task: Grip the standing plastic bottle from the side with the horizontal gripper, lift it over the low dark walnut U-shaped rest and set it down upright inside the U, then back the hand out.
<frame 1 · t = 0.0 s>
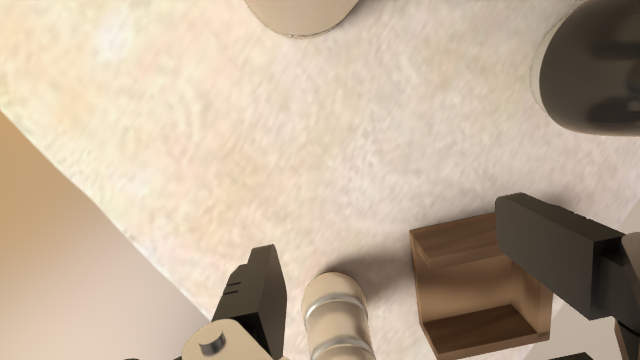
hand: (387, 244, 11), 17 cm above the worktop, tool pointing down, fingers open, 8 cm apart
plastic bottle: (331, 288, 32), on the worktop
black egg-shaped dispenser: (561, 67, 26), on the worktop
u rest: (460, 270, 33), on the worktop
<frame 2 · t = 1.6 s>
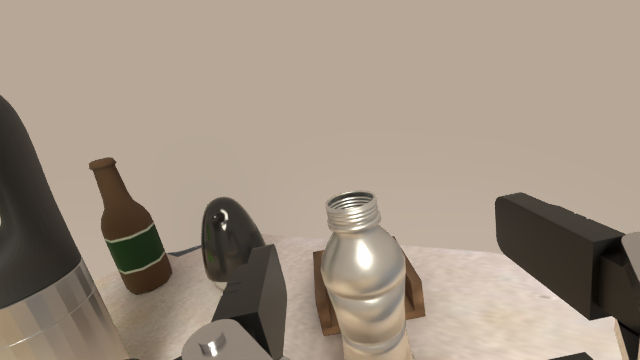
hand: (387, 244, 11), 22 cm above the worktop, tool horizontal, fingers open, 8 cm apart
beer bottle: (151, 282, 57), on the worktop
black egg-shaped dispenser: (244, 282, 51), on the worktop
u rest: (366, 298, 41), on the worktop
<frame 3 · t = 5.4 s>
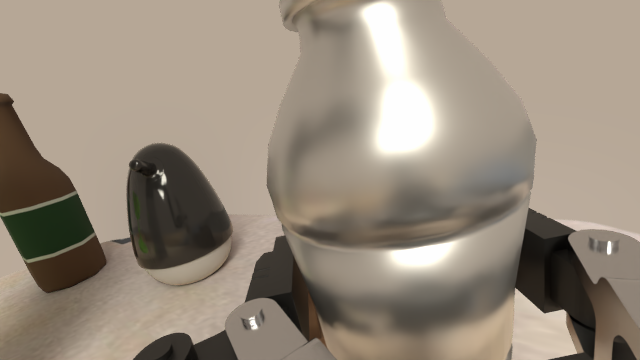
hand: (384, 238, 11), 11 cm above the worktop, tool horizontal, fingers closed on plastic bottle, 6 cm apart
beer bottle: (75, 276, 41), on the worktop
black egg-shaped dispenser: (198, 272, 35), on the worktop
u rest: (378, 290, 25), on the worktop
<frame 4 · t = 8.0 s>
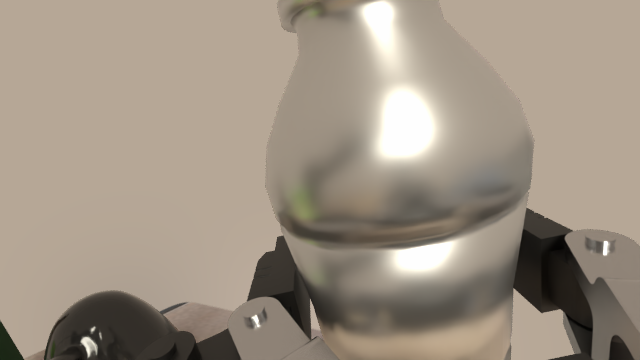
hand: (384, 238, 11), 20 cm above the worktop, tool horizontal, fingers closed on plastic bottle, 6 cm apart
when the fingers open (13 cm above the worktop, at t = 10.2 s): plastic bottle drops 1 cm, resting on u rest.
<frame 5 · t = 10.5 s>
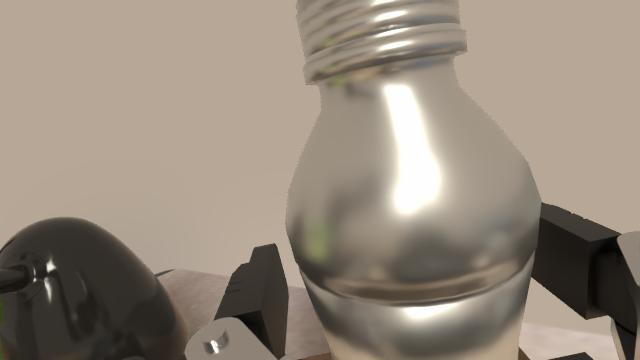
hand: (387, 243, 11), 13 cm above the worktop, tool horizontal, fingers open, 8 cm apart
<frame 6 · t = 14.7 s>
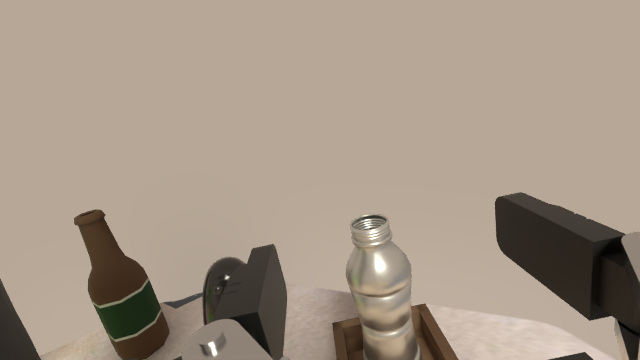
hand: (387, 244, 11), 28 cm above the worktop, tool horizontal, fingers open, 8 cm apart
beer bottle: (146, 345, 50), on the worktop
black egg-shaped dispenser: (251, 351, 44), on the worktop
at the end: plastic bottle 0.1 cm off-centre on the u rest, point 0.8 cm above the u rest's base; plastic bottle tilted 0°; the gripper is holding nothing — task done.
